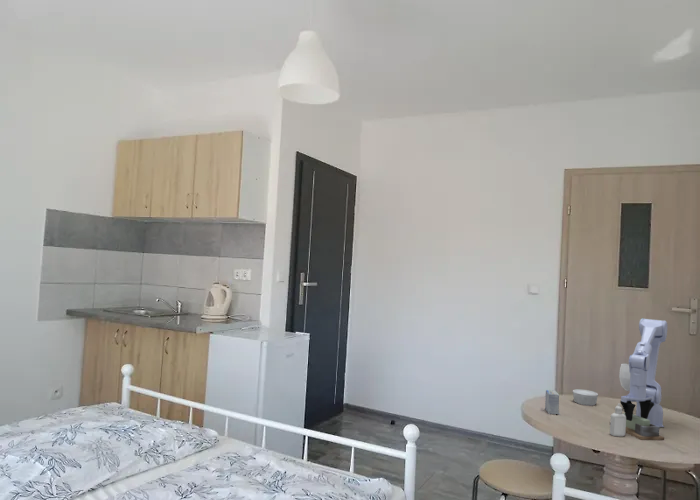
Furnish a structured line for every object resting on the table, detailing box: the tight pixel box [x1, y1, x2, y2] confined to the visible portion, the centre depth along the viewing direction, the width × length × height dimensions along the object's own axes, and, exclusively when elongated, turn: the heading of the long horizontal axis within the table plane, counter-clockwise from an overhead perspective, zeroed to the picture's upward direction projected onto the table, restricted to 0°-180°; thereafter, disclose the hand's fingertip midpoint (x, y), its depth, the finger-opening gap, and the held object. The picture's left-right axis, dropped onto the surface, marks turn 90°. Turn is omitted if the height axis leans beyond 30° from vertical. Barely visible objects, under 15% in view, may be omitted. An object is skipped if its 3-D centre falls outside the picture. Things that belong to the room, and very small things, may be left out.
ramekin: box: [572, 389, 599, 407], centre depth 249 cm, size 11×11×5 cm
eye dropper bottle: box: [609, 403, 626, 437], centre depth 201 cm, size 4×6×12 cm
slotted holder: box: [625, 423, 665, 441], centre depth 206 cm, size 10×18×4 cm, turn 8°
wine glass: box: [618, 363, 630, 392], centre depth 239 cm, size 7×7×21 cm
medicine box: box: [544, 389, 560, 415], centre depth 229 cm, size 8×4×9 cm, turn 168°
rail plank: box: [622, 412, 650, 430], centre depth 207 cm, size 3×10×5 cm, turn 18°
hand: (636, 419), depth 207 cm, fingers open, 7 cm apart
